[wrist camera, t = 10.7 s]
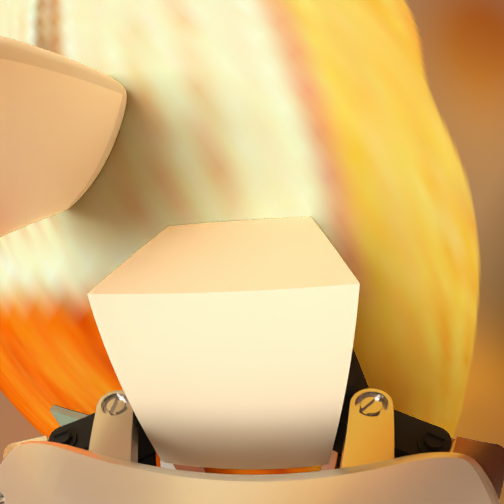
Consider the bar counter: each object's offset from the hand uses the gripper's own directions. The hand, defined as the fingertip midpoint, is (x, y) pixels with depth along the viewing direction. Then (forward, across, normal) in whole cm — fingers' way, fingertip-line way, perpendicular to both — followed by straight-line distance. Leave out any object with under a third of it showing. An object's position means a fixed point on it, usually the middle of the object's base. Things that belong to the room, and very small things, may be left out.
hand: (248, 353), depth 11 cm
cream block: (+1, 0, -2) cm, 2 cm away
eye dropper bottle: (+1, +6, -9) cm, 11 cm away
